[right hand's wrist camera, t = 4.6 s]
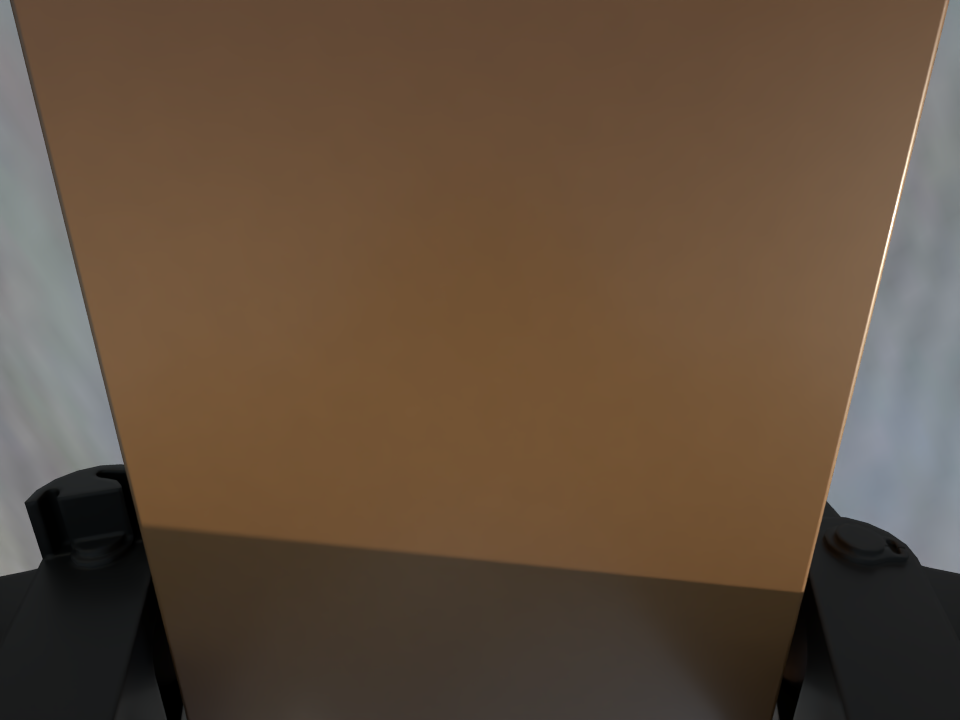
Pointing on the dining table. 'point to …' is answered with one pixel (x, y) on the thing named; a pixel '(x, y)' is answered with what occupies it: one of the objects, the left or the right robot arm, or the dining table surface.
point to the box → (479, 332)
